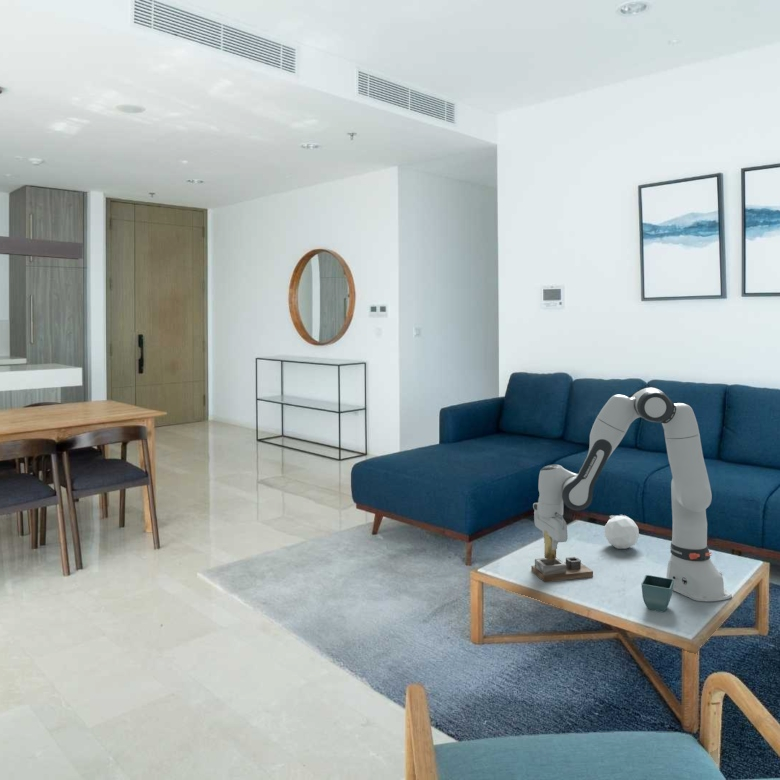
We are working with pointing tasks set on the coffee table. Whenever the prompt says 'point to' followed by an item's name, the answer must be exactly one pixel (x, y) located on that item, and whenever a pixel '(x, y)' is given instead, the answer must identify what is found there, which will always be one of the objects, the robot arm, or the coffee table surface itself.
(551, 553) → the brass cylinder rod
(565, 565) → the board
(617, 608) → the coffee table surface
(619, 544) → the geodesic sphere
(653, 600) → the flower pot
